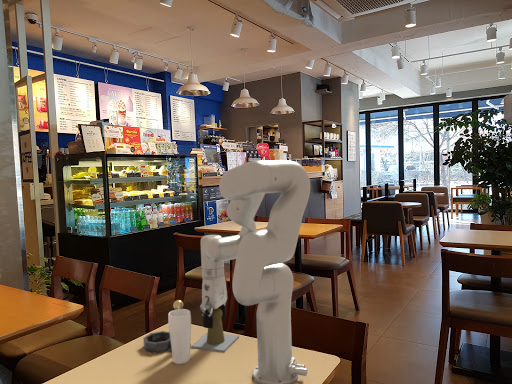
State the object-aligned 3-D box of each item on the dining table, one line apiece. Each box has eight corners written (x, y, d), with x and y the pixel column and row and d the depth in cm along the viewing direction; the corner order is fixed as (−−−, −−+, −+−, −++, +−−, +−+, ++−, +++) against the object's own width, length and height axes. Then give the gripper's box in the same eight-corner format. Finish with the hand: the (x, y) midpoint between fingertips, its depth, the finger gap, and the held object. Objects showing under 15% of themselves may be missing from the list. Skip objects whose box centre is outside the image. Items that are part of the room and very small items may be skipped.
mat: (239, 337, 136) (239, 335, 136) (224, 352, 125) (224, 350, 125) (208, 333, 141) (208, 331, 141) (191, 347, 129) (191, 345, 129)
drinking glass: (187, 366, 116) (185, 317, 116) (166, 365, 118) (164, 316, 117) (195, 356, 123) (193, 309, 122) (175, 355, 124) (173, 308, 124)
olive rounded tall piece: (228, 340, 133) (227, 308, 132) (214, 346, 128) (213, 313, 128) (217, 335, 137) (215, 304, 136) (203, 341, 133) (201, 309, 132)
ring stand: (194, 343, 132) (192, 296, 131) (178, 356, 123) (176, 305, 122) (155, 338, 138) (153, 293, 137) (138, 350, 129) (136, 301, 128)
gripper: (211, 279, 122) (213, 333, 123) (233, 266, 138) (235, 314, 139) (190, 278, 125) (192, 330, 126) (214, 265, 141) (216, 312, 142)
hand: (215, 322), depth 133 cm, fingers open, 9 cm apart
